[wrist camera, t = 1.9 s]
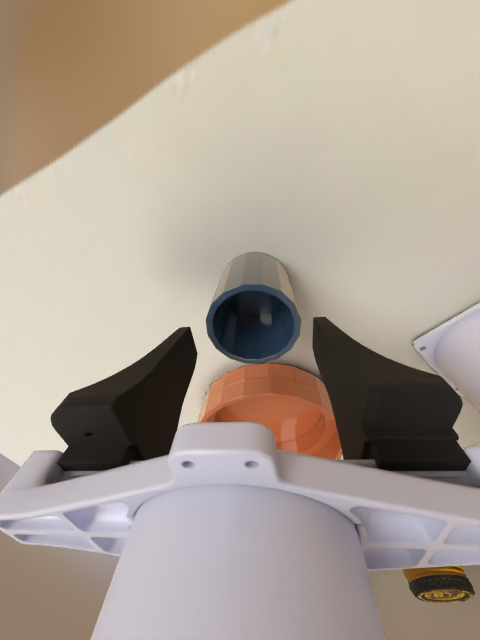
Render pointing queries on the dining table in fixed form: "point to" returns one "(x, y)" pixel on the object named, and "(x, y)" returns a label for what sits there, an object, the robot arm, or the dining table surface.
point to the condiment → (439, 584)
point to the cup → (254, 310)
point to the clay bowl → (277, 407)
